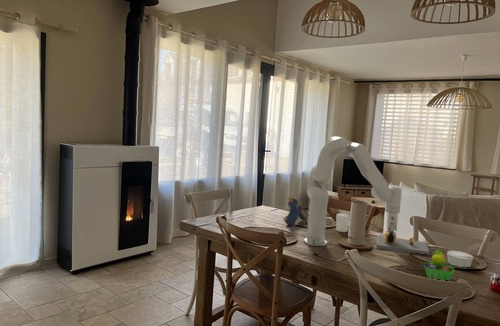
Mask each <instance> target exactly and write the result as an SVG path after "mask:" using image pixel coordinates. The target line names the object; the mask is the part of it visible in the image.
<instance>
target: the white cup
mask: <svg viewBox="0 0 500 326" xmlns="http://www.w3.org/2000/svg"><path fill="white" fill-rule="evenodd" d="M335 219H336V221H335V222H336V223H335V224H336V225H335V227H336V228H335V230H336V231H337V232H340V233H347V232H348V229H349V224H350V214H347V213H336V218H335Z"/></svg>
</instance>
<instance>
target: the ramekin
mask: <svg viewBox="0 0 500 326" xmlns="http://www.w3.org/2000/svg"><path fill="white" fill-rule="evenodd" d="M446 255H447V263H448V264H449V263H450V264H451V265H450V264H449V265H450V266H452V265H454V266H453V267H455V266H458V267H457V268H459V267H465V268H464V269H467V268H466V267H469V268H470V267H471V266H472V264H473V263H472V262H473V260H474V256H473V255H472V254H469V253H467V252H464V251H459V250H449V251H446Z"/></svg>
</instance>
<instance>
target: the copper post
mask: <svg viewBox="0 0 500 326" xmlns="http://www.w3.org/2000/svg"><path fill="white" fill-rule="evenodd" d="M408 240H409V245H413V244H414V241H415V238H414V237H413V236H411V237H409V239H408Z"/></svg>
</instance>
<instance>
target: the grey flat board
mask: <svg viewBox="0 0 500 326" xmlns="http://www.w3.org/2000/svg"><path fill="white" fill-rule="evenodd" d="M375 246H376V249H379V250H386V251H394V252H400V253H407V254H411V253H410V252H416V253H421V254H427V255H426V256H428V255H429V256H430V254H431V253H430V250H429V248H428V245H427V244H426V241H420V240H414V244H413V245H409V239H406V238H405V239H404V238H397V237H396V244H392V243H385V242H384V236H380V235H376V236H375ZM421 254H420V255H421Z"/></svg>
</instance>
